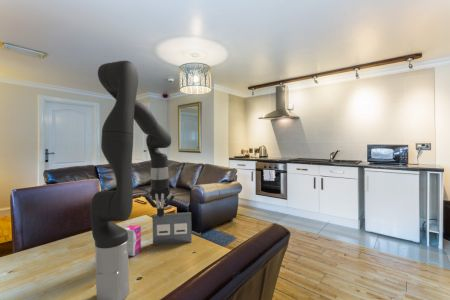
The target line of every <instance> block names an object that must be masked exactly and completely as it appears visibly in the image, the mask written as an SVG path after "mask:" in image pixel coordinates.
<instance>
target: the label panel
mask: <svg viewBox="0 0 450 300" xmlns="http://www.w3.org/2000/svg"><path fill="white" fill-rule="evenodd" d="M151 216H152V219H151V220H152V246H153V245H154V246H156V245H170V244H173V245H174V244H185V243H186V244H187V243H192V237H193V236H192V212H190V211H188V212H175V213H174V212H173V213H172V212H171V213H164V215H163V216H162V217H159V216H158V215H157V213H153V214H152V215H151Z"/></svg>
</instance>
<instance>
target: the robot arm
mask: <svg viewBox="0 0 450 300" xmlns="http://www.w3.org/2000/svg"><path fill="white" fill-rule="evenodd" d="M97 76H98V77H97V78H98V81H99V82H100V84H101V86H102V87H103V88H104V89H105V91H107V92H108V93H109V94H110V96H111V97H112V98H114V99H115V103H114V106H113V108H112V109H111V111H110V112H109V113H108V116H107V117H106V119H105V120H104V123H103V125H102V129H101V139H100V141H101V142H100V146H101V147H100V148H101V151H102V154H103V156H104V157H105V160H106V161H107V163H108V164H109V166H110V167H111V168H110V169H112V171H113V174H114V177H115V185H116V190H99V191H97V192H96V193H94V195H93V197H92V199H91V201H90V211H89V212H90V221H91V222H90V223H91V232H92V233H91V234H92V237H93V240H94V252H95V255H94V256H95V257H94V258H95V261H94V263H95V287H96V289H95V290H96V300H125V299H126V298H127V297H128V296H129V294H130V274H129V273H130V269H129V257H128V232H127V230H126V229H124V228H125V227H122V226H120V225H118V224H116V223H115V222H124V221H127V220H129V218H130V217H131V215H132V213H133V203H134V202H133V201H134V200H133V199H134V197H133V195H134V194H133V176H132V175H133V173H132V169H133V152H134V151H133V147H134V123H136V124H137V126H139V128H140V130H141V131H142V132H143V134H145V135H146V139H145V142H146V147H147V150H148V153H149V157H150V192H149V194H147V195H146V196H145V198H144V199H145V200H146V202H147V203H148V204H149V205H150V206H151V207H152V208H155V209H156V214H157V215H158V216H159V217H162V216H163V215H164V214H165V208H167V207H168V206H169V205H170V204H171V202H172V201H173V200H174V198H175V196H176V195H175V194H173V193H172V192H171V190H170V183H169V179H170V177H169V167H168V166H169V164H168V162H169V161H168V158H169V157H168V154H166V153H162V152H161V151H160V150H159V149H167V148H169V147H170V146H171V145H172V137H171V135H170V133H169V131H168V130H166V129H165V128H164V126H162V125H161V124H160V123H159V122H158V121H157V120H158V119H156V117H155V116H154V114H153V113H152V111H151V110H150V109H149V108H148V107H147V106H145V105H144V104H143V103H142V102H140V101H139V100H137V94H138V93H137V92H138V86H139V85H138V84H139V73H138V71H137V67H136V66H135V64H134V63H133V62H131V61H129V60H119V61H113V62H107V63H103V64H100V66H99V67H98V70H97ZM152 198H153V199H152ZM167 198H168V200H167V201H166V199H167ZM154 200H155V201H154ZM165 201H166V203H165Z"/></svg>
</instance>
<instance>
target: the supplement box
mask: <svg viewBox="0 0 450 300" xmlns="http://www.w3.org/2000/svg"><path fill="white" fill-rule="evenodd" d="M141 227H142V226H141V225H132V224H129V225H128V226H126V227H123V228H124V229H126V230H127V232H128V258H129V257H130V258H134V257H135V256H136V255H138V253H140V252H142V251H141V250H142V237H141V236H142V232H141V231H142V230H141V229H142V228H141Z"/></svg>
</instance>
